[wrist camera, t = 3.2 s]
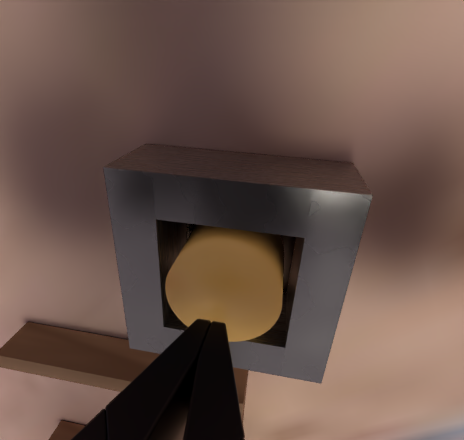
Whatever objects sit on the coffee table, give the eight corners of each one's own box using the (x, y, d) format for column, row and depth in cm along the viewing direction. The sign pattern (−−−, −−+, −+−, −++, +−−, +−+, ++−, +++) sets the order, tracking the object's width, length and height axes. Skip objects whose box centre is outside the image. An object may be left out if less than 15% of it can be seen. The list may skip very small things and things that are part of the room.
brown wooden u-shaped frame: (237, 467, 22) (232, 510, 20) (63, 428, 24) (41, 463, 22) (249, 361, 17) (243, 403, 15) (27, 321, 19) (-6, 354, 17)
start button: (278, 295, 14) (275, 350, 11) (191, 282, 14) (167, 331, 12) (290, 214, 12) (289, 256, 9) (189, 202, 12) (161, 239, 10)
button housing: (315, 323, 15) (320, 383, 12) (158, 298, 16) (129, 348, 13) (352, 162, 11) (372, 195, 9) (146, 143, 12) (103, 167, 10)
